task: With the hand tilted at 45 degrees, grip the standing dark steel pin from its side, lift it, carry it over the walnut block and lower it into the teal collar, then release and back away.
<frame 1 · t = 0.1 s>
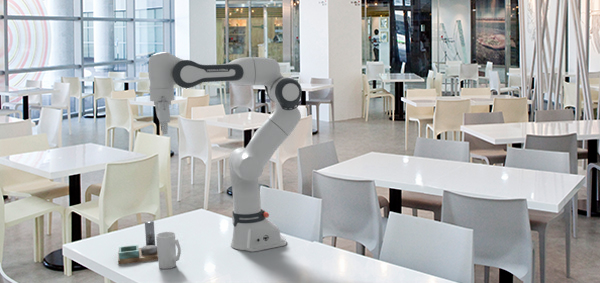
hand: (164, 132, 215), 48 cm above the table, tool pointing down, fingers open, 8 cm apart
mug: (170, 267, 209), on the table
pin: (150, 245, 233), on the table
nut block: (138, 256, 220), on the table
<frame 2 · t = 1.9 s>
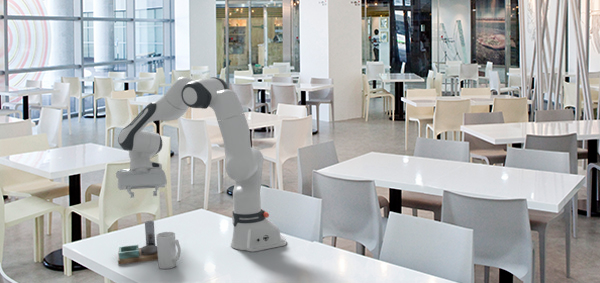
hand: (143, 196, 239), 18 cm above the table, tool tilted 45°, fingers open, 8 cm apart
nothing on the table moved.
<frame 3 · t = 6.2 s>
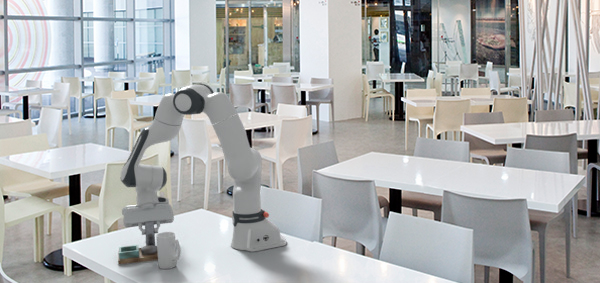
hand: (150, 233, 231), 5 cm above the table, tool tilted 45°, fingers closed on pin, 4 cm apart
pin: (150, 245, 233), on the table, touching gripper
everything else where it was.
when the fingers open (8 cm above the table, at t = 11.4 s): pin drops 1 cm, resting on nut block.
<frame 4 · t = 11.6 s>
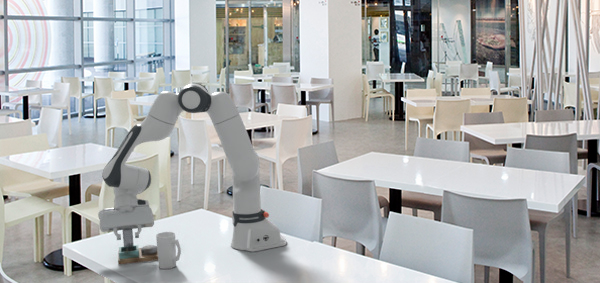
hand: (128, 238, 216), 8 cm above the table, tool tilted 45°, fingers open, 5 cm apart
pin: (129, 254, 218), point 2 cm above the table, touching nut block
everything else where it was.
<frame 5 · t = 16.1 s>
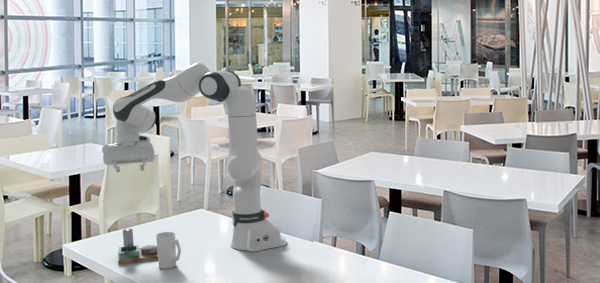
hand: (130, 170, 228), 31 cm above the table, tool tilted 45°, fingers open, 8 cm apart
nothing on the table moved.
at the end: pin 0.1 cm from the target spot on the nut block, point 1.5 cm above the nut block's base; pin tilted 0°; the gripper is holding nothing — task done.
